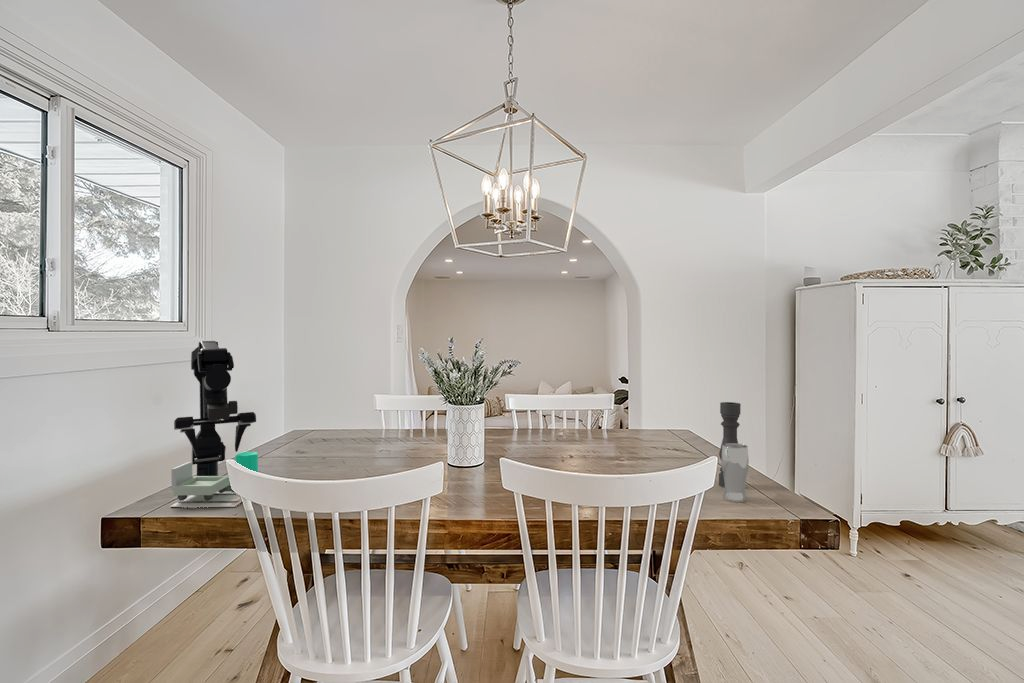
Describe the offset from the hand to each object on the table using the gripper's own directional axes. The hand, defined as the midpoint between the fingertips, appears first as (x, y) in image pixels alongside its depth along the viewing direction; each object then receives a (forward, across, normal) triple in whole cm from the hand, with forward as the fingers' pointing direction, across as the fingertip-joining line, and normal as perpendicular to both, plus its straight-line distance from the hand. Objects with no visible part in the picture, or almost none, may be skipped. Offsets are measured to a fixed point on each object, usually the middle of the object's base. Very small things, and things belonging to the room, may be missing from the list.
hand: (216, 453), depth 143 cm
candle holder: (+27, +130, -60) cm, 146 cm away
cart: (+11, -3, +14) cm, 18 cm away
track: (+13, +1, +12) cm, 17 cm away
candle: (+11, +10, +19) cm, 24 cm away
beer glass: (+29, +120, -68) cm, 141 cm away
